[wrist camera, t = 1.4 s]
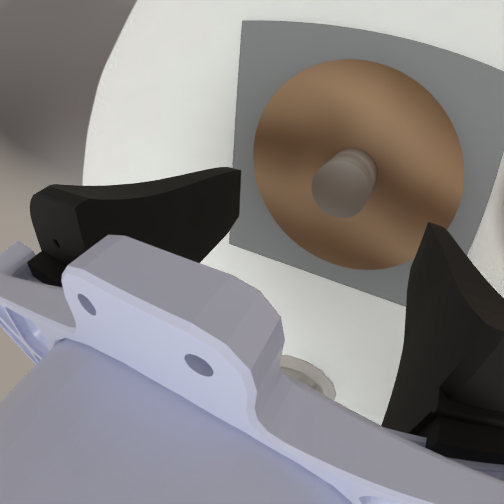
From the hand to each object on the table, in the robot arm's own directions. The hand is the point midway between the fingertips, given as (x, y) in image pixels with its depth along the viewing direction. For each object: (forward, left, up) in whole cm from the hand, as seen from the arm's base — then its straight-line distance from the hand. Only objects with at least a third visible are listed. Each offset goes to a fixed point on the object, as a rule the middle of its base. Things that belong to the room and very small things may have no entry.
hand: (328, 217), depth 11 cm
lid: (-1, +1, -10) cm, 10 cm away
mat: (-1, +1, -10) cm, 10 cm away
